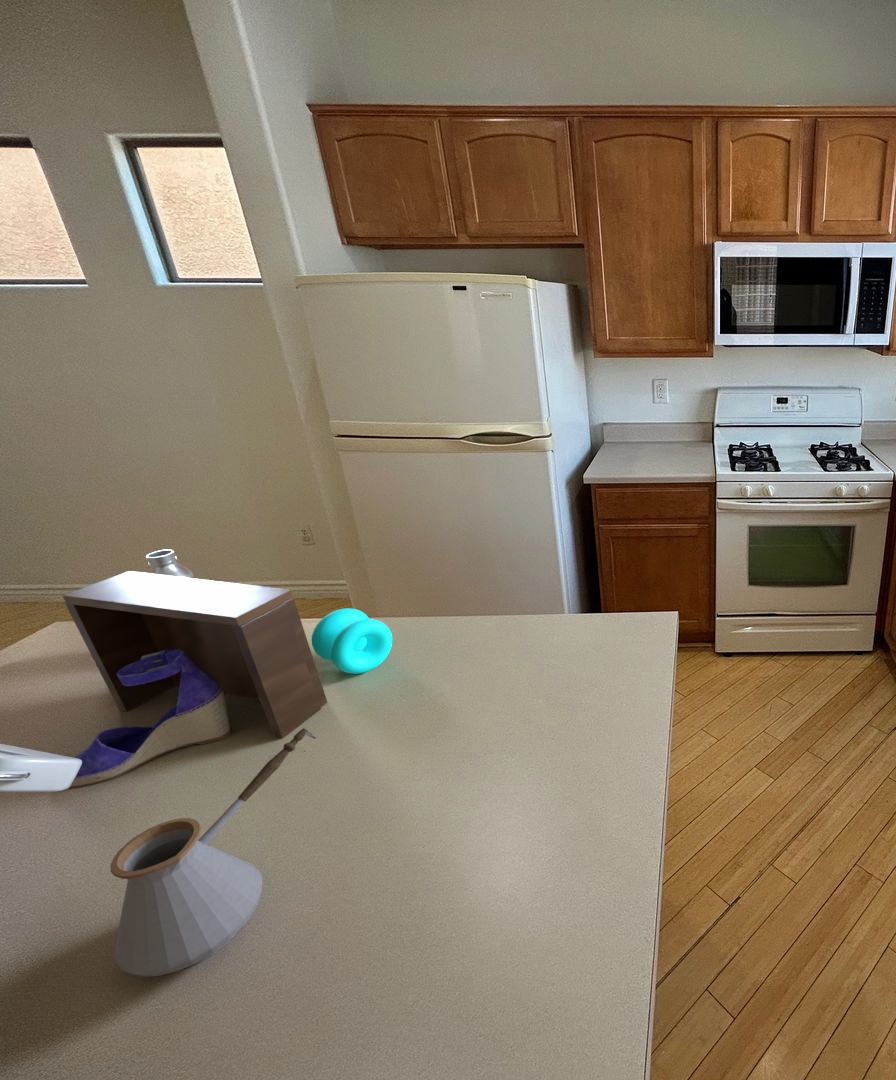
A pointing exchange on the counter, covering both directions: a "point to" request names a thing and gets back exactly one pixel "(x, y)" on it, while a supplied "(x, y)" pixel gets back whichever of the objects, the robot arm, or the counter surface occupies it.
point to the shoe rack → (202, 639)
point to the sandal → (181, 726)
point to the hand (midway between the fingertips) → (63, 763)
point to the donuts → (352, 640)
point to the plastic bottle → (167, 564)
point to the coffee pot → (185, 890)
